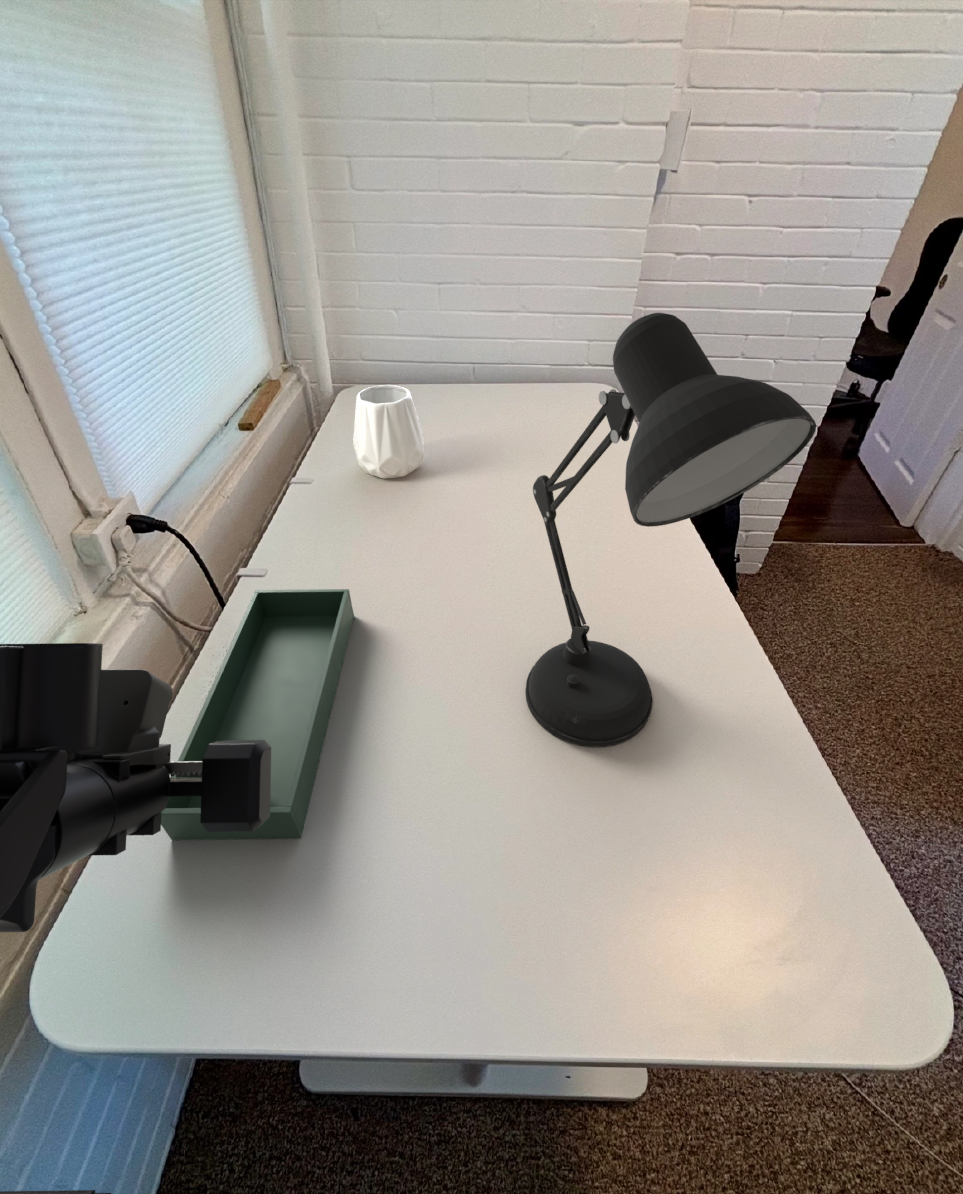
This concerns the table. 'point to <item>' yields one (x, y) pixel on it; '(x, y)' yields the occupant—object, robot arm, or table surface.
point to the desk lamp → (655, 501)
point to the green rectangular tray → (272, 703)
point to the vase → (387, 432)
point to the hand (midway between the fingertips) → (193, 764)
